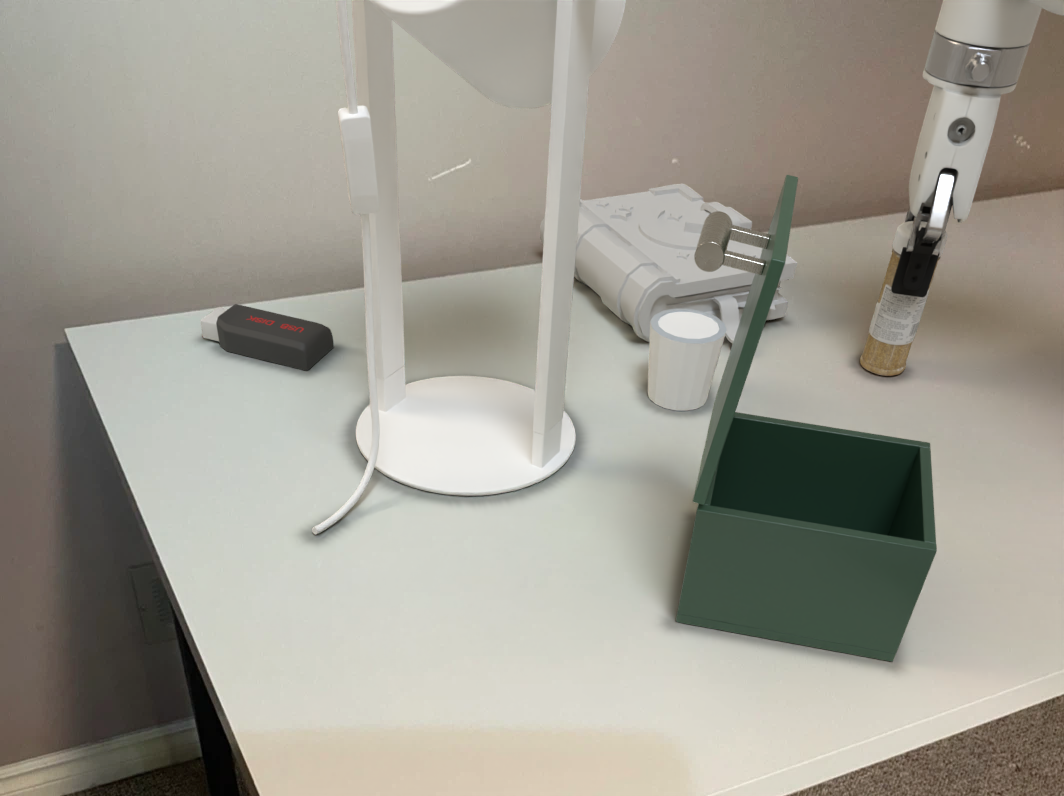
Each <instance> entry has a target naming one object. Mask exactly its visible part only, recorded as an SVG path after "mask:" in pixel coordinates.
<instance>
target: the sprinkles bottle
mask: <svg viewBox="0 0 1064 796" xmlns="http://www.w3.org/2000/svg"><path fill="white" fill-rule="evenodd" d="M926 224H927V222H922V221H921V224H920V227H919V231H920V229H921V227H926ZM912 225H913V221H909V222H905V221H904V222H902V223H901V224H899V225H898V226H897V228H896V231H895V233H894V237H893V241H892V243H891V247H892V250H891V254H890V259H889V263H888V265H887V268H886V272H885V275H884V278H883V282H882V286H881V289H880V291H879V296H878V299H877V301H876V304H875V307H874V310H873V313H872V318H871V321H870V325H869V328H868V334H867V338H866V342H865V345H864V348H863V351H862V353H861V356H860V358H859V362H860V363H859V364H860V365H861V367H862V368H864V369H865V370H866V371H868V372H870V373H872V374H875V375H880V376H886V377H887V376H889V377H891V376H897V375H900V374H902V373H903V372H904V371H905V370H906V366H907V359H908V358H909V357H908V356H909V354H910V350H911V347H912V344H913V341H915V337H916V336H917V335H916V334H917V332H918V328H919V325H920V322H921V319H922V316H923V313H924V311H925V306H926V303H927V301H928V297H929V294H930V291H931V285H932V282H933V280H934V276H935V272H936V270H937V266H938V263H939V261H940V260H941V258H942V255H943V254H944V251H945V247H946V244H947V240H948V238H949V237H948V232H947V230H945V233H944V237H943V240H942V244H941V247H940V251H939V253H940V254H939V258H938V261H937V264H936V267H935V270H934V273H933V276H932V279H931V283H930V286H929V289H928V292H927V295H926V296H925V297H916V296H909V295H901V294H894V293H892V291H891V286H892V283H893V279H894V276H895V273H896V269H897V266H898V262H899V259H900V256H901V252H902V249H903V247H907V243H908V240H909V236H910V232H911V228H912Z"/></svg>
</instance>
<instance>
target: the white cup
mask: <svg viewBox="0 0 1064 796" xmlns="http://www.w3.org/2000/svg"><path fill="white" fill-rule="evenodd" d="M726 331H727V329H726V327H725V324H724V323H723V322H722V321H721V320H720V319H719V318H717V317H716V316H713V315H711V314H709V313H706V312H703V311H698V310H693V309H670V310H665V311H662V312H660V313H658V314H656V315H654V316H653V318H652V320H651V321H650V343H649V342H648V344H649V346H648V369H647V370H648V371H647V395H648V398H649V400H651V402H652V403H653V404H655V405H657V406H659V407H661V408H663V409H667V410H672V411H682V412H684V411H685V412H686V411H687V412H689V411H693V410H697V409H700V408H701V407H703V406H704V405H705V404H706V402H707V400H708V398H709V393H710V390H711V387H712V384H713V380H714V376H715V372H716V370H717V366H718V362H719V358H720V355H721V352H722V349H723V346H724V345H723V344H724V341H725V338H726V336H725V334H726Z"/></svg>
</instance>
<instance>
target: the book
mask: <svg viewBox="0 0 1064 796" xmlns="http://www.w3.org/2000/svg"><path fill="white" fill-rule="evenodd" d="M716 211H721V212H724V213H726V214H727V215H729V217H730V218H731V220H732V225H735V226H739V227H743V228H747V229H751V230H752V228H753V221H752V220H750V219H749V218H748V217H746V216H745V215H743V214H742V213H740V212H739V211H737V210H735V209H734V208H733V207H731V206H725V205H724V204H723V203H720V202H718V201H709V202H705V201H704V197H703V196H702V195H700V194H699V193H698V192H696V190H694V189H693V188H692V187H690V186H688V185H687V184H685V183H673V184H667V185H662V186H657V187H650V188H648V190H647V191H642V192H641V191H640V192H633V193H626V194H620V195H612V196H605V197H600V198H599V197H597V198H592V199H582V198H581V197H580V205H579V218H578V231H577V243H576V256H575V269H574V279H576V280H577V281H579V282H580V283H582V284H584V285H586V286H588V287H589V288H590V289H591V290H592V291H593V292H595V293H596V294H597V295H598V296H599V297H600V299H601V303H602V304H603V305H604V306H606V307H607V308H608V309H609V310H610V311H611V312H612V313H613V314H615V315H616V316H617V317H618V318H619V319H620V320H621V321H622V322H624V323H626V324H628V325H629V326H631V327H632V329H633V332H634V334H635V335H636V336H638V338H640V339H641V340H644V341H645V342H647V343H648V344H649V343H650V321H651V320H652V318H653V316H654V315H656V314H658V313H660V312H662V311H665V310H670V309H693V310H698V311H703V312H706V313H709V314H711V315H713V316H716V317H717V318H719V319H720V320H721V321H722V322H723V323H724V324H725V327H726V329H727V331H726V334H725V338H726V339H727V340H728V341H729V342H730V343H731V345H733V341H734V338H735V335H736V332H737V329H738V326H739V323H740V319H741V316H742V313H743V310H744V307H745V304H746V300H747V297H748V294H749V291H750V288H751V285H752V282H753V278H754V275H755V273H751V272H747V271H743V270H739V269H735V268H731V267H727V266H723V265H722V266H721V267H720V268H719V269H717V270H716V271H713V272H705V271H702V270H701V269H699V268H698V267H697V265H696V263H695V260H694V254H695V251H696V247H697V244H698V241H699V238H700V234H701V231H702V228H703V224H704V221H705V219H706V218H707V216H708V215H709V214H711V213H713V212H716ZM544 227H545V214H544V215H543V217H542V219H541V221H540V228H539V239H540V242H541V244H542V245H543V244H544ZM727 250H728V251H732V252H735V253H739V254H743V255H747V256H751V257H755V258H759V259H760V256H761V253H762V250H763V248H759V247H755V246H751V245H747V244H744V243H740V242H736V241H732V240H729V243H728V247H727ZM797 266H798V262H797V261H796V260H795V259H794V258H792V257H791V256H790V255H789V254H787V255H786V261H785V265H784V268H783V271H782V274H781V277H780V280H779V283H778V286H777V289H776V292H775V295H774V298H773V301H772V304H771V307H770V310H769V313H768V316H767V319H766V321H769V320H770V321H772V320H775V319H780V318H784V317H786V314H787V309H788V304H789V301H788V300H787V299H786V298H785V297H784V296H783V295H782V294H780V293H779V292H780V291H779V290H783V287H781V283H782V282H783V281H789V280H793V279H794V277H795V275H796V274H795V273H796V271H797Z"/></svg>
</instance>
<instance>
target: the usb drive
mask: <svg viewBox="0 0 1064 796" xmlns="http://www.w3.org/2000/svg"><path fill="white" fill-rule="evenodd" d="M199 321H200V322H199V323H200V327H201V335H202V338H203V339H207V340H212V341H216V342H219V347H220V348H222V349H223V350H225V351H226V352H228V353H232V354H236V355H241V356H243V357H244V356H245V357H249V358H253V359H257V360H261V361H264V362H269V363H273V364H278V365H281V366H284V367H290V368H293V369H297V370H298V369H299V370H302V371H306V372H307V371H309V370H310V369H311V368H312V367H313V366H314V365H316V364H317V363H318V362H319V361H320V360H321V359H322V358H324V356H326V355H327V354H328V353H329V352H330V351H331V350H332V349H334V348H335V346H334V345H335V344H334V335H333V333H332V330H331V329H330V328H329V327H328V326H326V325H325V324H322V323H319V322H316V321H311V320H307V319H304V318H303V319H302V318H299V317H294V316H290V315H285V314H282V313H278V312H272V311H268V310H265V309H259V308H256V307H252V306H246V305H241V304H237V303H235V304H233V305H232V306H230V307H229V308H224V307H220V306H218V307H216V308H215V309H213V310H212V311H211V312H210V313H208V314H206V315H205V316H203V317H202V318H201V319H200V320H199Z"/></svg>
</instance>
